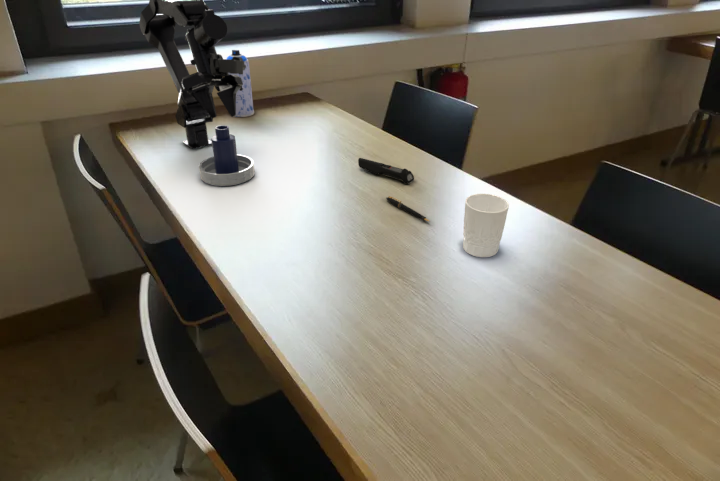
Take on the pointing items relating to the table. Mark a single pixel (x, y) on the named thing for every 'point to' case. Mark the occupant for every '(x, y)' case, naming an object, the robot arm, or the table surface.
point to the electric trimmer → (386, 170)
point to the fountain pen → (405, 208)
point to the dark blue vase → (224, 151)
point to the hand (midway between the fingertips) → (224, 116)
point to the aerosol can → (243, 89)
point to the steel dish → (229, 179)
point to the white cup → (484, 224)
